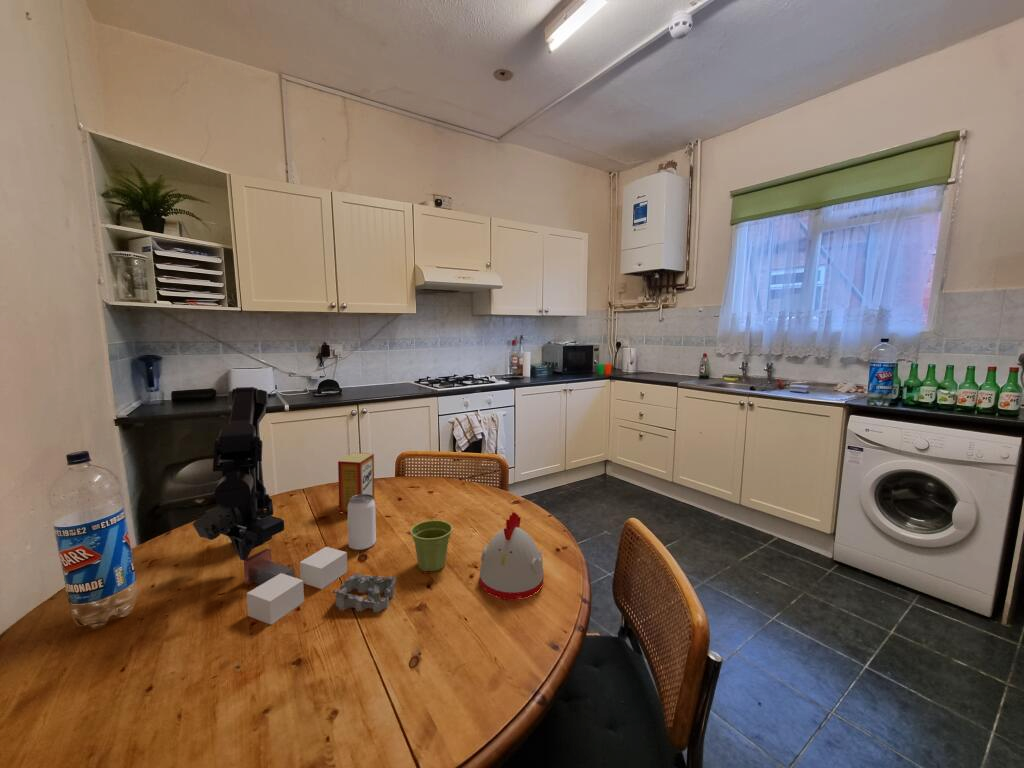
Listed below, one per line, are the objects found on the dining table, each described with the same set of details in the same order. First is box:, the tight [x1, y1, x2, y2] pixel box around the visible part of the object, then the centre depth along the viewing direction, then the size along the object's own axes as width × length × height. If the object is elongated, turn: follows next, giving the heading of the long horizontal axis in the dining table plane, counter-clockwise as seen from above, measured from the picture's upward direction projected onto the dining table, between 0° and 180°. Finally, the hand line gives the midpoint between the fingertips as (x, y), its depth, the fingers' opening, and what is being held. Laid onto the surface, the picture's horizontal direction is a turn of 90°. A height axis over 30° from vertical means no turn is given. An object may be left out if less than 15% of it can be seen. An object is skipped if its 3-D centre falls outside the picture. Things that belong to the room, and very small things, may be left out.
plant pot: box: [410, 519, 453, 572], centre depth 93 cm, size 9×9×9 cm
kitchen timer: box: [479, 511, 545, 600], centre depth 87 cm, size 14×14×15 cm
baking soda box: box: [337, 452, 375, 513], centre depth 123 cm, size 10×6×16 cm
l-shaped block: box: [243, 548, 295, 586], centre depth 85 cm, size 9×5×5 cm, turn 68°
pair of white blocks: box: [246, 546, 348, 625], centre depth 82 cm, size 6×18×4 cm, turn 158°
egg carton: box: [332, 573, 397, 613], centre depth 80 cm, size 11×8×4 cm
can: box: [347, 494, 377, 551], centre depth 101 cm, size 6×6×12 cm
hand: (243, 559), depth 88 cm, fingers closed
